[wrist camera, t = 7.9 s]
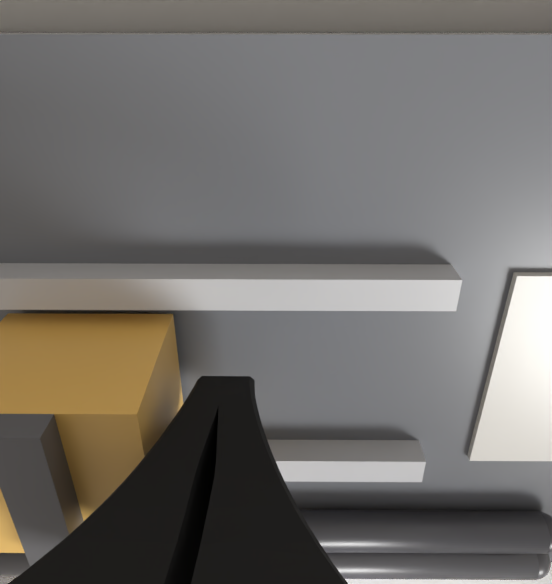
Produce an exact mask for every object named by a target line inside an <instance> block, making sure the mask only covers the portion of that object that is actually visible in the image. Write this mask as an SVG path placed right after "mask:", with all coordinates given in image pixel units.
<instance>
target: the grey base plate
mask: <svg viewBox="0 0 552 584" xmlns="http://www.w3.org/2000/svg"><path fill="white" fill-rule="evenodd" d="M8 313H41V314H173V317H174V326H175V335H176V343H177V352H178V361H179V370H180V378H181V387H182V396H183V404H184V402H185V400H186V399H187V397H188V396H189V394H190V392H191V390H192V389H193V387H194V385H195V383H196V382H197V380H198V379H199V378H200V377H201V376H250V377H251V378H253V379H254V380H255V398H256V403H257V408H258V412H259V416H260V419H261V423H262V426H263V429H264V432H265V435H266V438H267V441H268V444H269V446H270V449H271V451H272V454H273V456H274V459H275V461H276V463H277V466H278V468H279V470H280V473H281V475H282V477H283V479H284V481H285V483H286V485H287V487H288V489H289V491H290V493H291V495H292V497H293V499H294V501H295V503H296V505H297V506H298V508H299V510H300V512H301V513H302V515H303V517H304V519H305V521H306V522H307V524H308V526H309V527H310V529H311V530H312V532H313V533H314V535H315V537H316V538H317V540H318V541H319V543H320V544H321V546H322V547H323V549H324V550H325V552H326V553H327V555H328V557H329V558H330V560H331V561H332V563H333V564H334V565H335V567H336V568H337V569H338V571H339V572H340V574H341V575H342V576H343V578H344V579H468V580H537V579H541V578H543V577H544V576H546V575H547V573H548V572H549V570H550V566H551V562H552V33H115V32H0V322H1V320H2V319H3V318H4V317H5V316H6V315H7V314H8ZM29 567H30V565H29V562H28V560H27V557H26V555H25V553H0V577H18V576H19V575H20V574H22V573H23V572H24V571H26V570H27V569H28V568H29Z"/></svg>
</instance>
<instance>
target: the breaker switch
mask: <svg viewBox="0 0 552 584" xmlns="http://www.w3.org/2000/svg"><path fill="white" fill-rule="evenodd" d="M182 405H183V396H182V387H181V378H180V370H179V361H178V352H177V343H176V335H175V326H174V317H173V314H41V313H8V314H7V315H6V316H5V317H4V318H3V319H2V320H1V322H0V553H25V555H26V557H27V560H28V562H29V565H30V566H32V565H33V564H34V563H35V562H37V561H38V560H39V559H40V558H41V557H43V556H44V555H45V554H46V553H48V552H49V551H50V550H51V549H53V548H54V547H55V546H56V545H57V544H59V543H60V542H61V541H62V540H63V539H65V538H66V537H67V536H68V535H69V534H70V533H71V532H73V531H74V530H75V529H76V528H77V527H78V526H79V525H80V524H81V523H82V522H83V521H85V520H86V519H87V518H88V517H89V516H90V515H91V514H92V513H93V512H94V511H95V510H96V509H97V508H98V507H99V506H100V505H101V504H102V503H103V502H104V501H105V500H106V499H107V498H108V497H109V496H110V495H111V494H112V493H113V492H114V491H115V490H116V489H117V488H118V487H119V486H120V485H121V484H122V482H123V481H124V480H125V479H126V478H127V477H128V476H129V475H130V474H131V472H132V471H133V470H134V469H135V468H136V467H137V465H138V464H139V463H140V462H141V461H142V459H143V458H144V457H145V456H146V454H147V453H148V452H149V451H150V449H151V448H152V447H153V446H154V444H155V443H156V442H157V441H158V439H159V438H160V437H161V435H162V434H163V432H164V431H165V430H166V428H167V427H168V425H169V424H170V423H171V421H172V420H173V418H174V417H175V416H176V414H177V413H178V411H179V410H180V408H181V407H182Z"/></svg>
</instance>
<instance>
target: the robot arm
mask: <svg viewBox="0 0 552 584" xmlns="http://www.w3.org/2000/svg"><path fill="white" fill-rule="evenodd" d="M8 584H348V583H347V582H346V580H345V579H344V578H343V576H342V575H341V574H340V572H339V571H338V569H337V568H336V567H335V565H334V564H333V563H332V561H331V560H330V558H329V557H328V555H327V553H326V552H325V550H324V549H323V547H322V546H321V544H320V543H319V541H318V540H317V538H316V537H315V535H314V533H313V532H312V530H311V529H310V527H309V526H308V524H307V522H306V521H305V519H304V517H303V515H302V513H301V512H300V510H299V508H298V506H297V505H296V503H295V501H294V499H293V497H292V495H291V493H290V491H289V489H288V487H287V485H286V483H285V481H284V479H283V477H282V475H281V473H280V470H279V468H278V466H277V463H276V461H275V459H274V456H273V454H272V451H271V449H270V446H269V444H268V441H267V438H266V435H265V432H264V429H263V426H262V423H261V419H260V416H259V412H258V408H257V403H256V398H255V380H254V379H253V378H251V377H250V376H201V377H200V378H199V379H198V380H197V382H196V383H195V385H194V387H193V389H192V390H191V392H190V394H189V396H188V397H187V399H186V400H185V402H184V404H183V405H182V407H181V408H180V410H179V411H178V413H177V414H176V416H175V417H174V418H173V420H172V421H171V423H170V424H169V425H168V427H167V428H166V430H165V431H164V432H163V434H162V435H161V437H160V438H159V439H158V441H157V442H156V443H155V444H154V446H153V447H152V448H151V449H150V451H149V452H148V453H147V454H146V456H145V457H144V458H143V459H142V461H141V462H140V463H139V464H138V465H137V467H136V468H135V469H134V470H133V471H132V472H131V474H130V475H129V476H128V477H127V478H126V479H125V480H124V481H123V482H122V484H121V485H120V486H119V487H118V488H117V489H116V490H115V491H114V492H113V493H112V494H111V495H110V496H109V497H108V498H107V499H106V500H105V501H104V502H103V503H102V504H101V505H100V506H99V507H98V508H97V509H96V510H95V511H94V512H93V513H92V514H91V515H90V516H89V517H88V518H87V519H86V520H85V521H83V522H82V523H81V524H80V525H79V526H78V527H77V528H76V529H75V530H74V531H73V532H71V533H70V534H69V535H68V536H67V537H66V538H65V539H63V540H62V541H61V542H60V543H59V544H57V545H56V546H55V547H54V548H53V549H51V550H50V551H49V552H48V553H46V554H45V555H44V556H43V557H41V558H40V559H39V560H38V561H37V562H35V563H34V564H33V565H32V566H30V567H29V568H28V569H27V570H26V571H24V572H23V573H22V574H20V575H19V576H18V577H16V578H15V579H14V580H13V581H11V582H10V583H8Z"/></svg>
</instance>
